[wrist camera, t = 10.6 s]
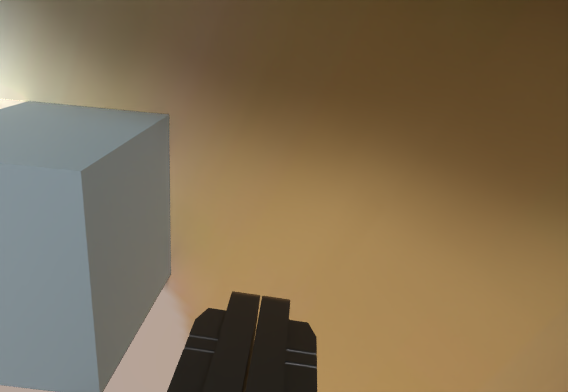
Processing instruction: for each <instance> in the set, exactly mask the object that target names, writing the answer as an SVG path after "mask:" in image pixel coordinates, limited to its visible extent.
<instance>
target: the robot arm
mask: <svg viewBox="0 0 568 392" xmlns="http://www.w3.org/2000/svg"><path fill="white" fill-rule="evenodd" d="M259 301H260V295H254V294H247V293H240V292H232V294H231V297H230V300H229V304H228V307H227V311H225V310H218V309H212V308H208V309H207V310H206V311H204V312H203V313H202V314H201V315H200V316H199V317H198V318H196V319H195V322H194V324H193V327H192V329H191V332H190V335H189V337H188V339H187V342H186V345H185V348H184V350H183V352H182V355H181V357H180V360H179V362H178V365H177V368H176V370H175V373H174V375H173V378H172V380H171V383H170V385H169V388H168V390H167V392H317V369H316V368H317V356H316V353H317V346H316V336H315V334H314V332H313V331H312V329H311V327H310V325H309V324H308V323H307V322H300V321H293V320H289V309H290V300H288V299H281V298H275V297H268V296H262V301H261V307H260V312H259V318H258V323H257V316H258V309H259ZM256 323H257V329H256ZM255 331H256V335H255ZM254 338H255V340H254ZM253 345H254V346H253Z"/></svg>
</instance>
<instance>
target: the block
mask: <svg viewBox="0 0 568 392" xmlns="http://www.w3.org/2000/svg"><path fill="white" fill-rule="evenodd" d="M170 275H171V245H170V155H169V114H158V113H147V112H137V111H126V110H116V109H105V108H95V107H84V106H73V105H63V104H52V103H42V102H31V101H20V100H10V99H0V385H4V386H13V387H21V388H30V389H39V390H48V391H55V392H103V391H104V389H105V387H106V386H107V384H108V382H109V380H110V378H111V377H112V375H113V373H114V372H115V370H116V368H117V366H118V365H119V363H120V361H121V359H122V358H123V356H124V354H125V352H126V351H127V349H128V347H129V346H130V344H131V342H132V340H133V339H134V337H135V335H136V333H137V332H138V330H139V328H140V326H141V325H142V323H143V321H144V319H145V318H146V316H147V314H148V313H149V311H150V309H151V307H152V306H153V304H154V302H155V300H156V299H157V297H158V295H159V294H160V292H161V290H162V289H163V287H164V285H165V283H166V282H167V280H168V278H169V276H170Z"/></svg>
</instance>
